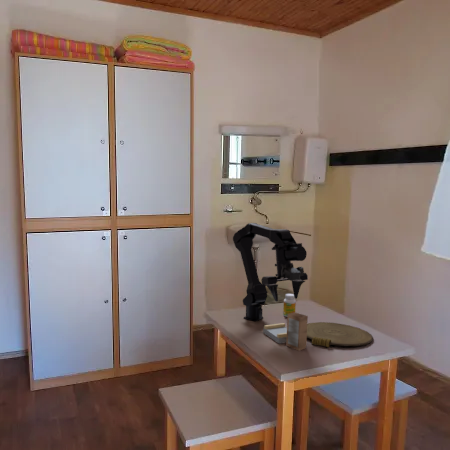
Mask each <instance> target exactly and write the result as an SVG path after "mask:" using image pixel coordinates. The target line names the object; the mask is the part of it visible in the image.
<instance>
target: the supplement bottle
mask: <svg viewBox="0 0 450 450" xmlns="http://www.w3.org/2000/svg"><path fill="white" fill-rule="evenodd" d="M284 296H285V298H284V299H283V306H282V307H283V311H282V315H283V317H284V318H285V317H286V318H288V314H290V313H293V312H296V305H297V301H296V299H295V297H294V293H285V295H284Z"/></svg>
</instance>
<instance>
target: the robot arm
mask: <svg viewBox="0 0 450 450" xmlns="http://www.w3.org/2000/svg"><path fill="white" fill-rule="evenodd" d="M256 236H261V237H264V238H266V239H268V240H269V242H271V243H273V244H274V245H273V246H272V247H271V251H275V259H276V262H275V263H274V267H276V273H275V275H266V276H262V278H261V281H260V279H259V274H258V271H257V267H256V262H255V259H254V254H253V251H252V249H253V245H254V240H253V239H255V238H256ZM232 241H233V243H234V247H235V248H236V250H238V251H239V253H240V256H241V259H242V264H243V269H244V272H245V276H246V280H247V287H246V289H245V290H246V295H245V297H244V298H242V304H243V306H245V316H244V317H243V319H246V320H250V321H253V322H258V321H260V320H262V319H264V316H263V305H265V304H266V301H267V298H268V290H269V291H270V293H271V295H272V297H273V299H274V301H275V302H278V301H279V300H278V299H279V297H278V296H279V295H278V287H279V284H277V283H278V282H284V281H290V282H291V286H292V290H293V291H292V293H293V294H294V297H295V298H294V299H295V300H296V299H298V298H299V297H298V296H299V293H300V289H301V286H302V285H303V284H304V283H305V282H306V281H308V280H309V277H308V274H307V272H305V270H304V267H303V266H297V267H294V264H293V262H303V261H305V259H307V252H308V251H307V250H306V248H305V247H304V246H303V243H302V242H299V243H298V242H296V240H295V238H294V237H293V234H292V233H291V231H290V230H289V229H284V228H283V229H282V228H281V229H279V228H278V229H277V228H271V227H268V226H265V225H260V224H258V223H256V222H251V223H247V224H246V225H244V226H243V227H242V228H240V229H239V230H238V231H236V232H235V233H234V235H233V236H232ZM267 289H268V290H267Z"/></svg>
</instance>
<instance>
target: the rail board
mask: <svg viewBox="0 0 450 450" xmlns="http://www.w3.org/2000/svg"><path fill="white" fill-rule="evenodd" d="M262 333H263V334H265V335H266V336H267V337H269V338H270V339H272V340H273V342H276V343H277V344H285V343H286V342H287V326H286V323H284V322H282V323H273V324H266V325H265V324H264V326H263V332H262Z"/></svg>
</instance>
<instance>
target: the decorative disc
mask: <svg viewBox="0 0 450 450" xmlns="http://www.w3.org/2000/svg"><path fill="white" fill-rule="evenodd" d="M307 339H309V340H311V345H314V346H320V347H326V348H330V347H331V346H339V347H359V346H365V345H368V344H370V343H371V342H372V341H373V340H374V337H373V335H372V334H371V333H370V332H368V331H367V330H364V329H362V328H359V327H357V326H353V325H349V324H343V323H337V322H327V321H326V322H324V321H323V322H322V321H320V322H310V323H309V322H307Z"/></svg>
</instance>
